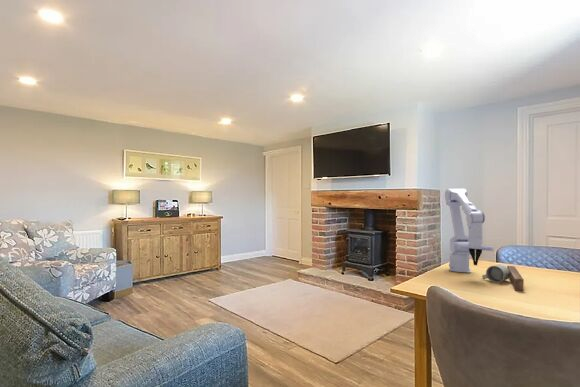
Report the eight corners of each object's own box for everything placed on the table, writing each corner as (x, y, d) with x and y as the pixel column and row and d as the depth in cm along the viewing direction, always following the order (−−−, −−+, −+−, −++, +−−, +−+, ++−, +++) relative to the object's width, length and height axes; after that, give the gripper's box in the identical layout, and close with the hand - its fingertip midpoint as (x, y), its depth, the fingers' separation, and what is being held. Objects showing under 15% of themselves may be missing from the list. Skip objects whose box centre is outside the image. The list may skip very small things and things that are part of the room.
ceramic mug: (511, 281, 150) (510, 264, 151) (504, 284, 146) (503, 267, 146) (486, 276, 159) (486, 261, 159) (479, 279, 154) (478, 263, 154)
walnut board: (514, 290, 137) (514, 278, 137) (507, 275, 160) (507, 265, 160) (523, 291, 135) (523, 279, 135) (514, 276, 158) (514, 266, 158)
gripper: (458, 236, 154) (458, 265, 155) (493, 238, 148) (494, 268, 148) (458, 234, 161) (458, 262, 161) (492, 236, 154) (492, 265, 154)
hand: (475, 264), depth 155 cm, fingers closed
